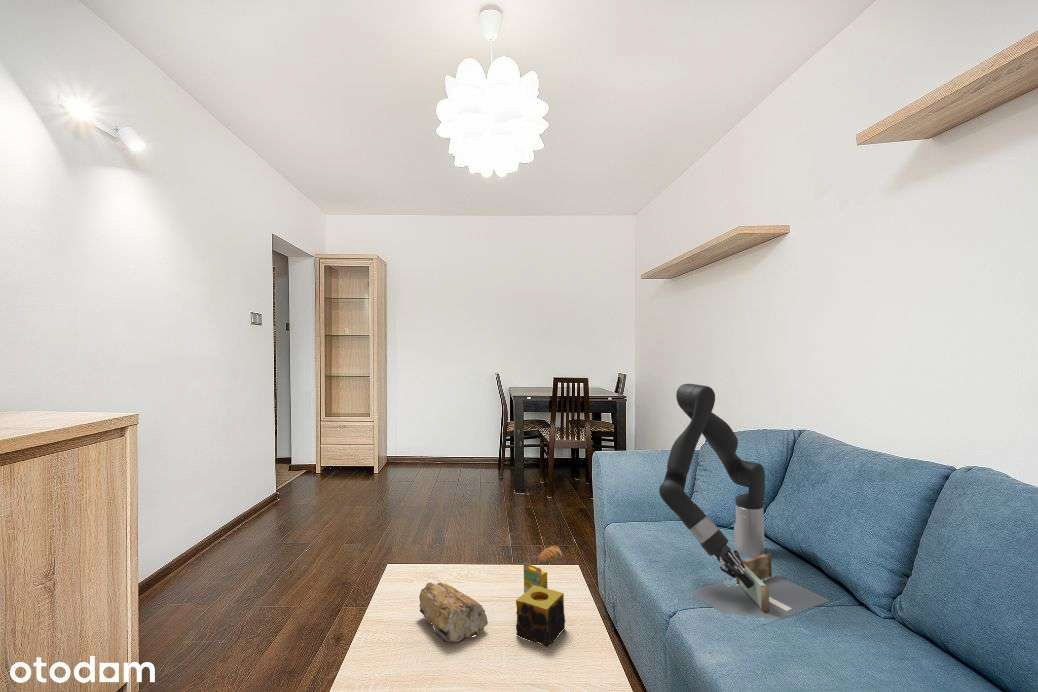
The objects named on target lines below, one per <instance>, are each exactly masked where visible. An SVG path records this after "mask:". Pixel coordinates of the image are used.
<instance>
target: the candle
mask: <svg viewBox="0 0 1038 692" xmlns="http://www.w3.org/2000/svg"><path fill="white" fill-rule="evenodd" d="M564 594H565V593H564V592H561V591H558V590H555V589H549V588H548V589H546V588H543V587H539V586H535V585H533V586H532V587H531V588H530V589H529V590H528V591H526V592H525V593H524V592H523V594H521V595H520V596H518V598H517V599H516V600H515V605H516V612H515V613H516V624H515V630H516V636H517V635H518V636H520V637H522V638H525V639H527V640H526V641H528V640H530V641H533V642H532V643H534V642H535V643H534V644H537V643H536V642H539V643H541V644H542V645H541V644H540V645H541V646H543V645H544V647H545V646H546V648H549V647H550V646H551V645H552V644H553V643H554V642H555V641H556V640H557V639H556V638H558V637H559V636H560V635H559V633H560V632H561V631H562V630H563V629H564V628H566V626H565V625H566V618H565V617H566V616H565V614H566V613H565V605H564V603H565V601H564V599H565V598H564V597H565V595H564ZM564 630H565V629H564ZM562 632H563V631H562ZM562 632H561V633H562ZM558 635H559V636H558ZM557 636H558V637H557ZM520 637H519V638H520ZM522 638H521V639H522ZM525 639H524V640H525ZM555 639H556V640H555ZM554 640H555V641H554ZM530 641H529V642H530ZM539 643H538V644H539ZM550 644H551V645H550ZM549 645H550V646H549Z"/></svg>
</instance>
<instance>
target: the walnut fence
mask: <svg viewBox="0 0 1038 692" xmlns="http://www.w3.org/2000/svg"><path fill="white" fill-rule="evenodd" d="M742 561H743V562H744V564H745V565H746V566H747V567H748V568H749V569H750V570H751V571H752V572H753V573H754V574H755V575H756V576H757V577H758V578H759V579H760V580H761V579H764V578H767V577H772V574H773V572H772V568H773V567H772V554H771V553H768V552H766V553H765V552H764V554H763V555H759V556H756V557H749V558H745V559H742Z"/></svg>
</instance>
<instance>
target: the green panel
mask: <svg viewBox="0 0 1038 692" xmlns="http://www.w3.org/2000/svg"><path fill="white" fill-rule="evenodd" d="M743 563H744V562H743ZM744 565H745V564H744ZM744 569H745V573H746V574H747V575H748V576H749V577H750V578H751V580H752V581H753V582H754V585H753V586H752V587H751V588H749V589H748V588H747V587H746V586H745V585H744V584H743V583H742V581H741V580H740V579H739V578H736V581H737V584H739V585H740V586H741V587H742V588H743V589H744V590H745V591H746V592H747V593H748V594H749V596H750V597H751V598H752V599H753V600H754V601H755V602H756V603H757V604H758V606H759V607H760V608H761V610H762V611H764V612H769V587H768V586H766V585H765V584H764V583H763V582H762V581H761V580H760V579H759V578H758V577H757V576H756V575H755V574H754V573H753V572H752V571H751V570H750V569H749V568H748V567H747V566H746V565H745V568H744Z"/></svg>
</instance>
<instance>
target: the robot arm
mask: <svg viewBox="0 0 1038 692" xmlns="http://www.w3.org/2000/svg"><path fill="white" fill-rule="evenodd" d="M675 395H676V396H675V397H676V401H677V405H678V406H679V408H680V409H681V410H682V411H683V413H685V415H687V416H688V417H689V419H690V422H689V424H688V425H687V426H686V427H685V429H684V430H683V432H682V433H680V435H679V436H678V437H677V438H676V439H675V441H674V442H673V444H672V446H671V449H670V453H669V455H668V459H667V464H666V472H665V476H664V480H663V481H662V483H661V484H660V486H659V489H658V493H659V496H660V498H661V500H663V502H664V503H665V504H666V505H667V507H669V508H670V509H671V511H672V512H673V513H675V514H676V516H678V518H679V519H680V521H681V522H682V523H683V524H684V525H685V526H686V528H687V529H688V530H689V532H690V533H691V535H692V536H693V538H694V539H695V540H696V542H697V543H698V544H699V545H700V546H701V548H703V549H704V551H705V553H707V555H708V556H710V557H711V556H715V557H716V559H717V561H718V562H719V563H720V566H719V569H720V570H721V571H722V572H724V573H725V574H727V575H728V576H730V577H732V579H733V578H739V579H740V580H741V581H742V583H743V584H744V585H745V586H746V587H747V588H748V589H749V588H751V587H752V586H753V585H754V582H753V581H752V580H751V578H750V577H749V576H748V575H747V574H746V573H745V569H744V568H745V565H744V563H743V561H742V560H743V559H742V558H741V556H740V555H742V556H745V557H749V556H750V557H749V558H752V557H756V556H759V555H763V554H765V524H764V523H765V522H764V520H765V519H764V502H765V494H766V493H765V488H766V473H765V468H764V466H763V465H762V463H759V462H754V461H750V460H749V461H748V460H744V459H741V458H740V457H739V456H738V455H737V453H736V452H737V449H738V446H739V439H738V437H737V435H736V434H735V432H734V431H733V429H732V428H731V426H730V425H729V424H728V423H727V422H726V421H725V420H724V419H723V418H721V417H719V416H718V415H717V414H715V413H714V412H713V410H714V406H715V402H716V393H715V390H713V388H712V387H710V386H708V385H701V384H694V383H684V384H681V385H680V386H679V387H678V388H677V390H676V394H675ZM701 436H703V437H704V438H705V440H706V442H707V443H708V445H709V446H710V447H711V449H712V450H713V451H714V454H716V456H717V457H718V459H719V460H720V462H721V463H722V465H723V468H724V469H725V470H726V472H727V475H728V477H729V479H730V480H731V482H732V483H734V484H735V485H738V486H742V487H745V488H748V489H747V490H748V492H747V493H742V494H738V495H737V496H735V501H734V502H735V523H734V524H733V544H734V545H733V546H734V550H732V548H731V547H729V546H728V543H729V539H728V538H727V536H726V535H725V534H724V533H723V532H722V531H721V530H720V529H719V527H718V526H717V525H716V523H714V521H713V520H712V519H710V518H709V516H707V515H706V513H705V512H704V511H703V510H702V509H701V508H700V506H698V505H697V503H695V502H694V501H693V500H692V498H690V497H689V495H688V494H687V493H686V492H685V489H686V483H687V478H688V474H689V471H690V467H691V464H692V462H693V457H694V454H695V451H696V448H697V444H698V443H699V440H700V438H701Z"/></svg>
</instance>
